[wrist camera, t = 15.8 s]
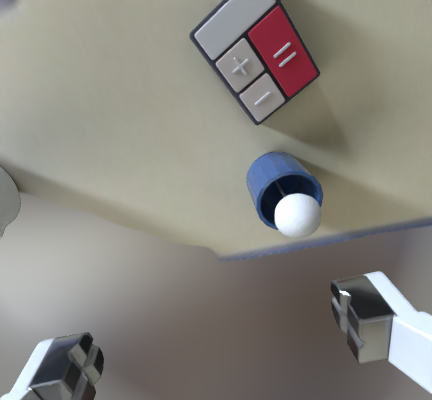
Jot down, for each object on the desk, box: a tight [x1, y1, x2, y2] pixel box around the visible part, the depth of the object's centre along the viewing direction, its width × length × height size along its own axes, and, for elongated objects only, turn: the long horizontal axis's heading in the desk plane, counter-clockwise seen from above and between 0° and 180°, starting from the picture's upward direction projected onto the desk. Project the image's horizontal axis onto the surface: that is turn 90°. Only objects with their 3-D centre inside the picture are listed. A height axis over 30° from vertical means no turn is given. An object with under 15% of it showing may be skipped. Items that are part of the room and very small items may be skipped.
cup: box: [247, 152, 323, 230], centre depth 44 cm, size 10×10×9 cm
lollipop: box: [274, 180, 321, 238], centre depth 40 cm, size 6×6×15 cm
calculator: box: [190, 0, 320, 125], centre depth 37 cm, size 11×4×15 cm
